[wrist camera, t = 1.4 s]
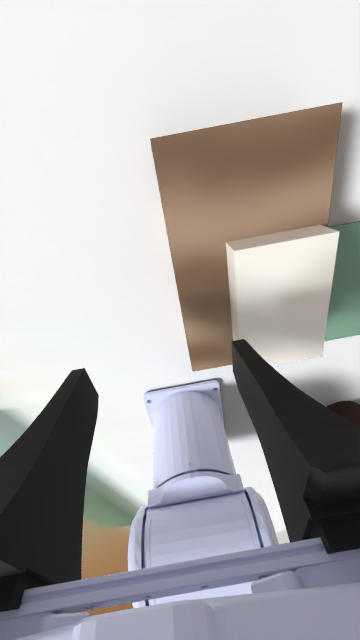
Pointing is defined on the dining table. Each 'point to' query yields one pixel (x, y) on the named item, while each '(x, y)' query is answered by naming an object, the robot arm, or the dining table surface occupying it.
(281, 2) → the dining table surface
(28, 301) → the dining table surface
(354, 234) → the mat
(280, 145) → the brown flat block
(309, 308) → the upright cream block
